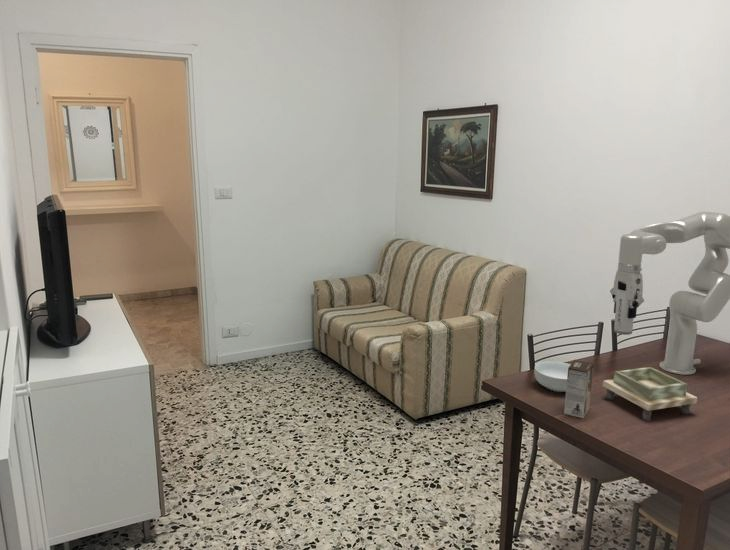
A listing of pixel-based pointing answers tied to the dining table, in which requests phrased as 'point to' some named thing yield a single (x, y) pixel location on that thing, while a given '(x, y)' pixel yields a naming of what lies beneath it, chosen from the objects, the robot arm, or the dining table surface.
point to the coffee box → (578, 388)
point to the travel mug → (622, 312)
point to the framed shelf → (650, 390)
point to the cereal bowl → (552, 375)
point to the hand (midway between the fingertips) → (624, 314)
